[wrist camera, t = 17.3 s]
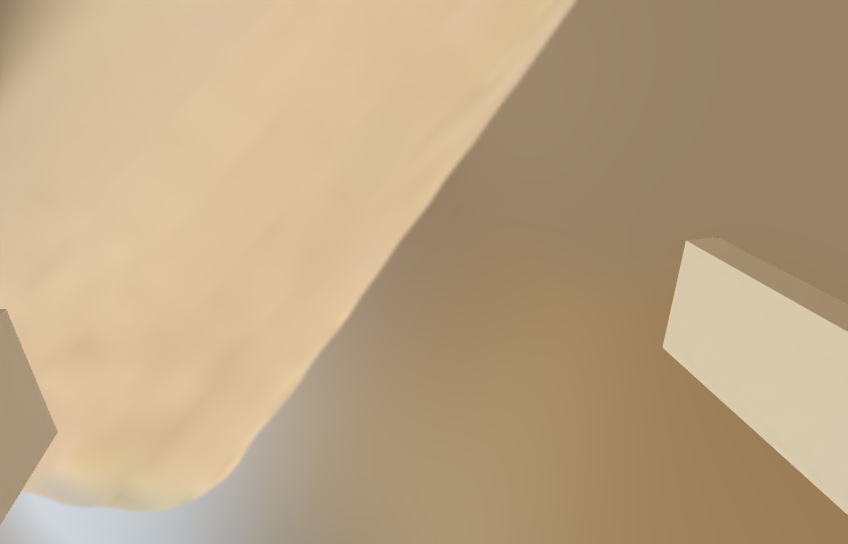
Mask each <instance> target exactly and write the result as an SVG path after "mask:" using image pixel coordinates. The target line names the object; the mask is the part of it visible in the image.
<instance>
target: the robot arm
mask: <svg viewBox="0 0 848 544" xmlns="http://www.w3.org/2000/svg"><path fill="white" fill-rule="evenodd" d="M663 348H664V349H665V350H666V351H667V352H668V353H669V354H670V355H671V356H673V357H674V358H675V359H676V360H677V361H678V362H679V363H680V364H681V365H683V366H684V367H685V368H686V369H687V370H688V371H689V372H690V373H691V374H693V375H694V376H695V377H696V378H697V379H698V380H699V381H700V382H701V383H702V384H704V385H705V386H706V387H707V388H708V389H709V390H710V391H711V392H712V393H714V394H715V395H716V396H717V397H718V398H719V399H720V400H721V401H722V402H724V403H725V404H726V405H727V406H728V407H729V408H730V409H731V410H732V411H733V412H735V413H736V414H737V415H738V416H739V417H740V418H741V419H742V420H743V421H745V422H746V423H747V424H748V425H749V426H750V427H751V428H752V429H753V430H754V431H756V432H757V433H758V434H759V435H760V436H761V437H762V438H764V440H766V441H767V442H768V443H769V444H770V445H771V446H772V447H773V448H774V449H776V450H777V451H778V452H779V453H780V454H781V455H782V456H783V457H784V458H785V459H787V460H788V461H789V462H790V463H791V464H792V465H793V466H794V467H796V468H797V469H798V470H799V471H800V472H801V473H802V474H803V475H804V476H805V477H807V478H808V479H809V480H810V481H811V482H812V483H813V484H814V485H816V487H818V488H819V489H820V490H821V491H822V492H823V493H824V494H825V495H826V496H828V497H829V498H830V499H831V500H832V501H833V502H834V503H835V504H836V505H837V506H839V507H840V508H841V509H842V510H843V511H844V512H845V513H846V514H847V515H848V304H846V303H844V302H842V301H840V300H838V299H836V298H834V297H832V296H830V295H828V294H826V293H824V292H822V291H821V290H819V289H816V288H815V287H813V286H811V285H809V284H807V283H805V282H803V281H801V280H799V279H797V278H795V277H793V276H791V275H789V274H787V273H785V272H784V271H782V270H780V269H778V268H776V267H774V266H772V265H770V264H768V263H766V262H764V261H762V260H760V259H758V258H756V257H754V256H752V255H750V254H749V253H746V252H745V251H743V250H741V249H739V248H737V247H735V246H733V245H731V244H729V243H727V242H725V241H723V240H721V239H719V238H707V239H697V240H688V241H686V244H685V248H684V253H683V258H682V262H681V267H680V271H679V276H678V280H677V285H676V290H675V294H674V299H673V303H672V307H671V312H670V317H669V321H668V326H667V330H666V335H665V340H664V344H663ZM56 434H57V429H56V427H55V425H54V422H53V420H52V418H51V415H50V413H49V410H48V408H47V406H46V403H45V401H44V398H43V396H42V394H41V391H40V389H39V387H38V384H37V382H36V379H35V377H34V375H33V372H32V370H31V367H30V365H29V363H28V360H27V358H26V356H25V353H24V351H23V348H22V346H21V344H20V341H19V339H18V337H17V334H16V332H15V329H14V327H13V325H12V322H11V320H10V317H9V315H8V313H7V310H6V309H0V524H1V523H2V521H3V520H4V518H5V516H6V514H7V513H8V511H9V510H10V508H11V507H12V505H13V503H14V502H15V500H16V499H17V497H18V495H19V494H20V492H21V490H22V489H23V487H24V486H25V484H26V482H27V481H28V479H29V477H30V476H31V474H32V473H33V471H34V469H35V468H36V466H37V464H38V463H39V461H40V460H41V458H42V456H43V455H44V453H45V452H46V450H47V448H48V447H49V445H50V443H51V442H52V440H53V439H54V437H55V435H56Z"/></svg>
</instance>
